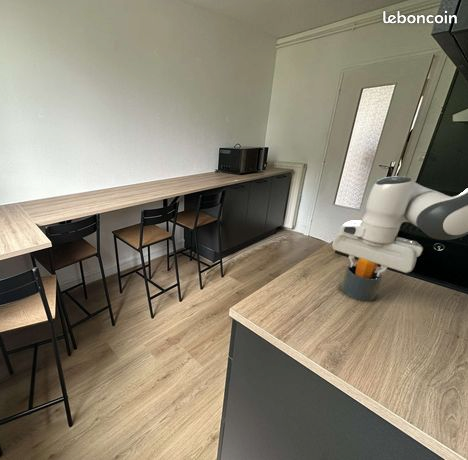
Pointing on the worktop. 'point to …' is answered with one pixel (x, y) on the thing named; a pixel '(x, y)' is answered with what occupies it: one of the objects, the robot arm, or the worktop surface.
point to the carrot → (365, 268)
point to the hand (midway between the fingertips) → (364, 271)
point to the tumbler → (360, 285)
